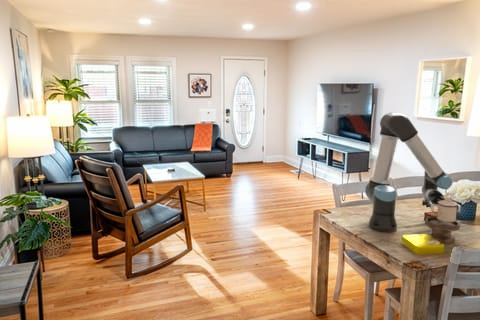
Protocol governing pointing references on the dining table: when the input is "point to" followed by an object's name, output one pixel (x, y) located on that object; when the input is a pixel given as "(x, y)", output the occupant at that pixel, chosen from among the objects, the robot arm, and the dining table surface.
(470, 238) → the dining table surface
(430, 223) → the walnut pedestal
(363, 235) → the dining table surface
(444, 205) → the teacup with lid
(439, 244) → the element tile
